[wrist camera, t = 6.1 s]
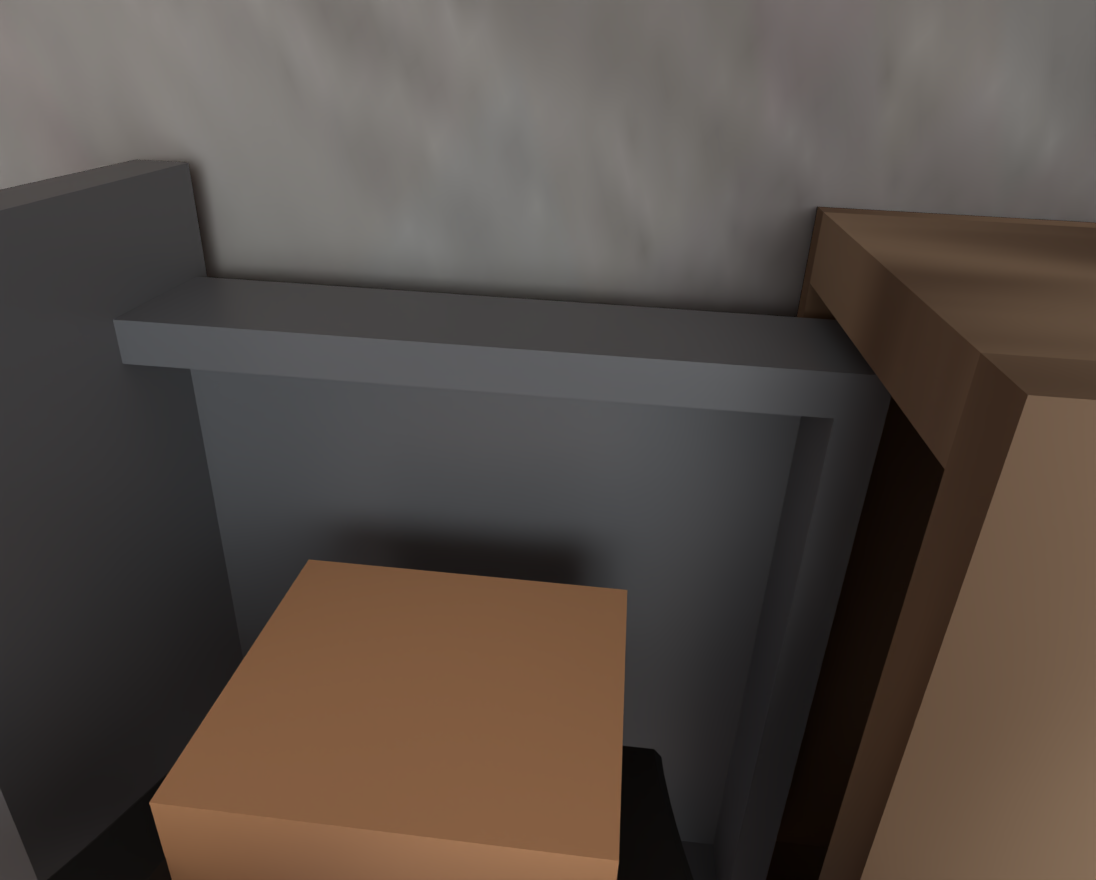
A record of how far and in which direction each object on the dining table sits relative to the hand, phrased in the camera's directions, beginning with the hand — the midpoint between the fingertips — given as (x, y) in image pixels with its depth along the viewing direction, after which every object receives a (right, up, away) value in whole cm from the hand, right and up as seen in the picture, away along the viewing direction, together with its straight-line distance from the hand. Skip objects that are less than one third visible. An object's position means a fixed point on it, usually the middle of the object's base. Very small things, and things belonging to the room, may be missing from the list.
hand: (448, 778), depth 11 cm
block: (0, +1, +1) cm, 2 cm away
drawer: (0, +2, +4) cm, 4 cm away
